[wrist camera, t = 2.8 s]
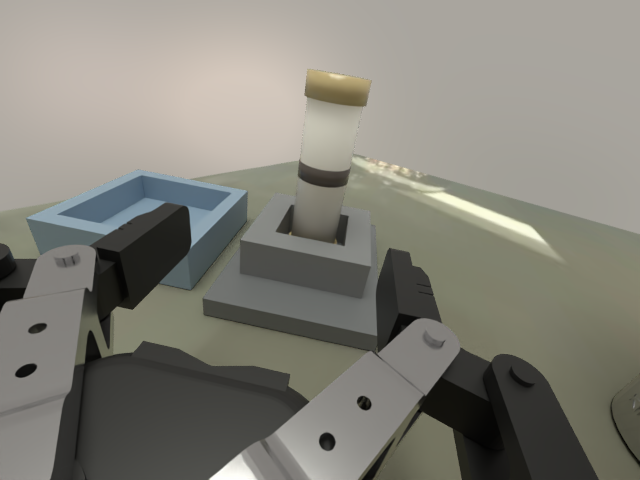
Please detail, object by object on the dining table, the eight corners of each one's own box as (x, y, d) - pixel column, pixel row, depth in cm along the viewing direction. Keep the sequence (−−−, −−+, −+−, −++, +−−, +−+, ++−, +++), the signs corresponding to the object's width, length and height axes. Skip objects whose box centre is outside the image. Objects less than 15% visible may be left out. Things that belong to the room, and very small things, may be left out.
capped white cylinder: (335, 245, 28) (371, 79, 21) (331, 271, 25) (371, 81, 17) (292, 236, 28) (313, 69, 21) (281, 261, 25) (301, 69, 18)
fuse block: (372, 236, 34) (382, 200, 31) (374, 351, 20) (392, 302, 18) (269, 216, 34) (272, 179, 32) (203, 314, 21) (200, 261, 18)
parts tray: (246, 220, 33) (247, 191, 31) (191, 290, 22) (187, 251, 21) (143, 199, 33) (138, 169, 31) (42, 258, 23) (25, 218, 21)
